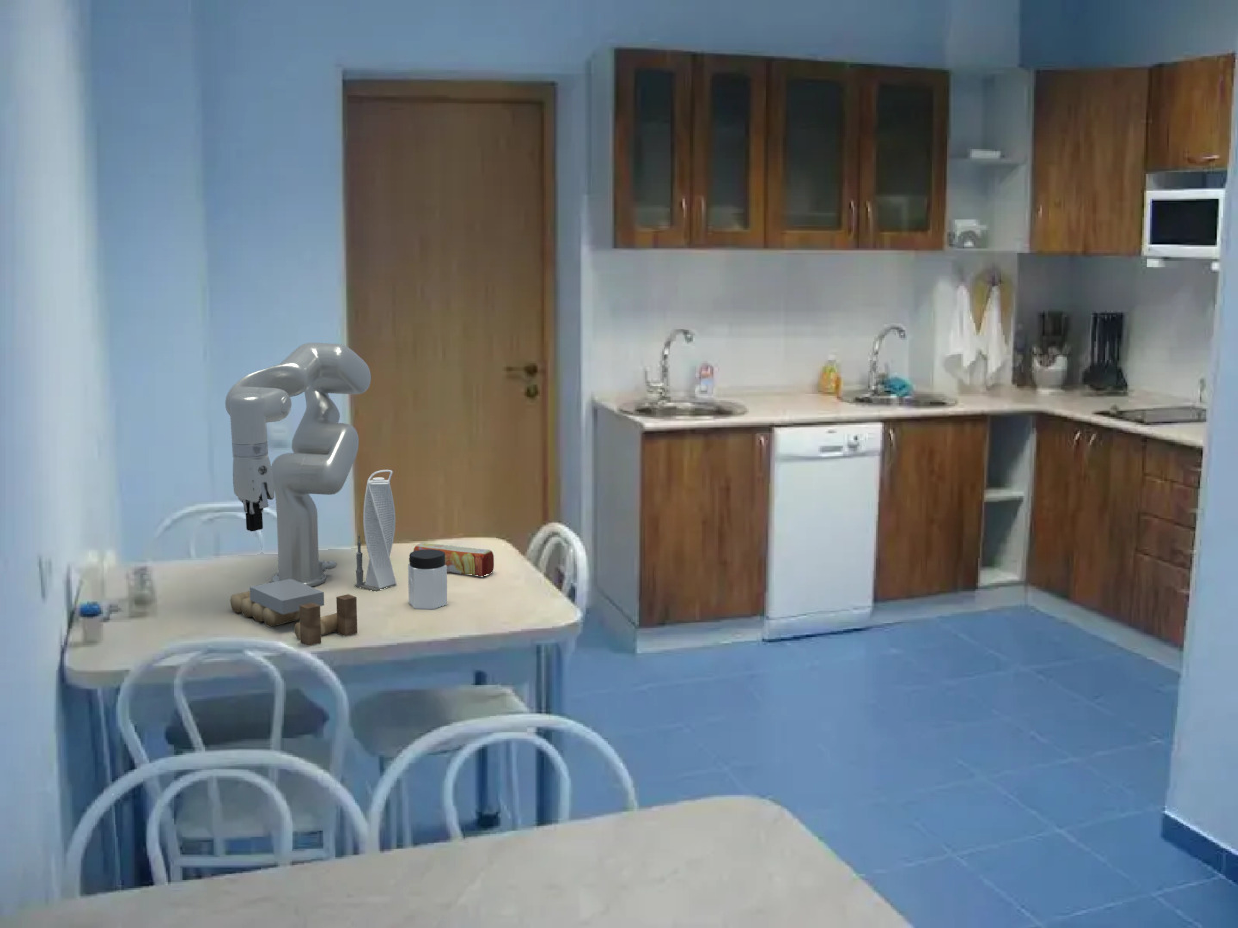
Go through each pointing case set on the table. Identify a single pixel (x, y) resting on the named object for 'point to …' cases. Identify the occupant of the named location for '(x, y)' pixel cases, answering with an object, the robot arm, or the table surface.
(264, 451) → the robot arm
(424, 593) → the jar
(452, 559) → the snack package
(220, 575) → the table surface
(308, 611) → the posts
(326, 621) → the roller
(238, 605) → the roller track
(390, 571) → the skyscraper
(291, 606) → the slab
